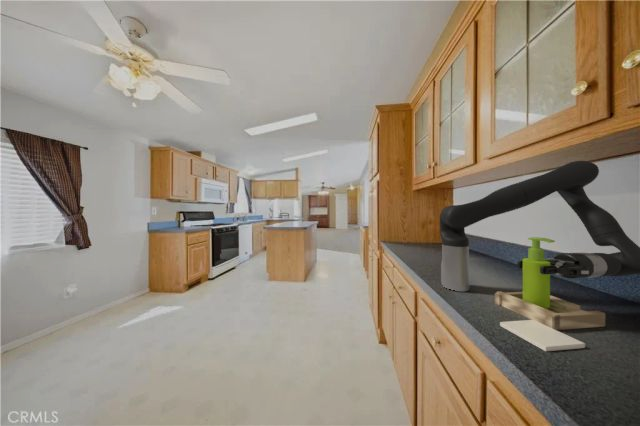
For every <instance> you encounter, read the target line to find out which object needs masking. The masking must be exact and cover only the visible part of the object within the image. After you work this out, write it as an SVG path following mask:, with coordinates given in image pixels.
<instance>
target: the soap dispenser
mask: <svg viewBox="0 0 640 426" xmlns="http://www.w3.org/2000/svg"><path fill="white" fill-rule="evenodd" d="M527 240H528V241H529V240H530V241H531V247H528V248H527V249H528V251H527V257H524V259H523V258H522V261H523V268H522V292H523V300H524V301H527V302H529V303H532V304H534V305H537V306H540V307H542V308H549V307H550V295H551V274H541V273H540V267H541V266H550V262H549V261H547V260H544V259H545V249H544V248H541V242H545V243H549V244H550V243H555V242H556V240H554V239H551V238H547V237H535V236H534V237H528V239H527Z"/></svg>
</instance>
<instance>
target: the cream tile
mask: <svg viewBox="0 0 640 426" xmlns="http://www.w3.org/2000/svg"><path fill="white" fill-rule="evenodd" d="M499 326H500V327H502V329H503V328H504V329H506V331H508V332H511V333H512V334H514V335H516V336H518V337H519V338H521V339H522V340H525V341H526V342H529V344H532V345H534V346H536V347H537V348H539V349H541V350H542V351H544V352H553V351H554V352H555V351H563V350H565V351H566V350H575V349H585V348H586V342H583V341H581V340H578V339H576V338H574V337H572V336H569V335H567V334H565V333H564V332H561V331H560V330H555V329H552V328H550V327H548V326H546V325H544V324H541V323H539V322H537V321H535V320H531V319H523V320H509V321H500V322H499Z"/></svg>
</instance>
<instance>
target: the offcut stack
mask: <svg viewBox="0 0 640 426" xmlns="http://www.w3.org/2000/svg"><path fill="white" fill-rule="evenodd" d="M545 309H547V310H550V311H552V312H555V313H568V312H583V311H585V310H584V309H581V305H578V304H576V303H573V302H570V301H567V300H564V299H562V298H559V297H557V296H553V295H551V294H550V307H549V308H545Z"/></svg>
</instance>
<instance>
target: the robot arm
mask: <svg viewBox="0 0 640 426" xmlns="http://www.w3.org/2000/svg"><path fill="white" fill-rule="evenodd" d="M599 174H600V169H599V166H598V165H596V164H595V163H594V162H591V161H588V160H575V161H571V162H569V163H566V164H564V165H562V166H559V167H557V168H555V169H553V170H551V171H548V172H546V173H544V174H541V175H540V174H539V175H537V176H535V177H534V176H533V177H531V178H528V179H525V180H522V181H519V182H516V183H513V184H510V185H507V186H504V187H501V188H499V189H497V190H494V191H493V192H491V193H489V194H488V195H486V196H485V197H483V198H481V199H478V200H475V201H471V202H468V203H464V204H462V203H461V204H456V205H455V204H454V205H449V206H446V207H444V208H443V209H442V210H441V211H440V213H439V235H440V238H441V251H442V252H441V255H442V256H441V258H442V259H441V262H440V283H441V284H440V285H443V286H442V287H443V288H444V287H445V288H444V289H446V288H447V289H446V290H449V289H451V290H450V291H453V290H455V292H469V290H470V251H469V250H470V239H469V238H468V237H467V235H466V232H465V231H466V230H465V228H467V227H470V226H472V225H475V224H476V223H478V222H480V221H483V220H486V219H488V218H490V217H495V216H498V215H502V214H505V213H509V212H511V211H515V210H519V209H521V208H522V209H523V208H524V207H527V206H529V205H532V204H534V203H537V202H538V201H541V200H542V199H544V198H546V197H548V196H549V195H552V194H553V193H556V192H557V193H558V194H559V196H560V197H561V198H562V199H563V200H564V201H565V203H566V204H567V205H568V206H569V207H570V208H571V209H572V210H573V211H574V213H575V214H576V215H577V217H578V218H579V219H580V221H581V223H583V226H584V227H585V230H586V231H587V232H588V234H589V236H590V238H591V240H592V241H593V242H594V244H595V245H597V246H599V247H615V248H616V249H618V250H619V251H617V252H612V253H606V252H605V253H604V252H564V253H558V254H556V255H555V256H554V257H552V258H551V257H549V258H544V260H547V261H549V262H550V266H541V267H540V273H541V274H550V275H555V276H561V277H563V278H566V279H570V280H571V279H574V280H575V279H589V278H591V279H592V278H596V277H621V276H623V277H624V276H632V275H633V276H634V275H640V246H639V245H637V243H636V242H635V241H633V240H632V239H631V238H630V237H629V236H628V235H627V234H626V233H625V231H624V229H623V228H622V227H621V225H620V223H619V222H618V220H617V219H616V217H614V216H613V215H612V214H611V213H610V212H608V210H606V209H605V208H602V207H601V206H599V205H597V204H596V203H594V202H593V200H591V199H590V197H589V196H588V195H587V193H586V191H585V189H584V187H586V186H588V185H589V184H590V183H592V182H593V181H595V180H596V179H597V178H598V176H599ZM524 258H525V257H524ZM524 258H522V260H518V261H517V268H519V269H523V259H524Z"/></svg>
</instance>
